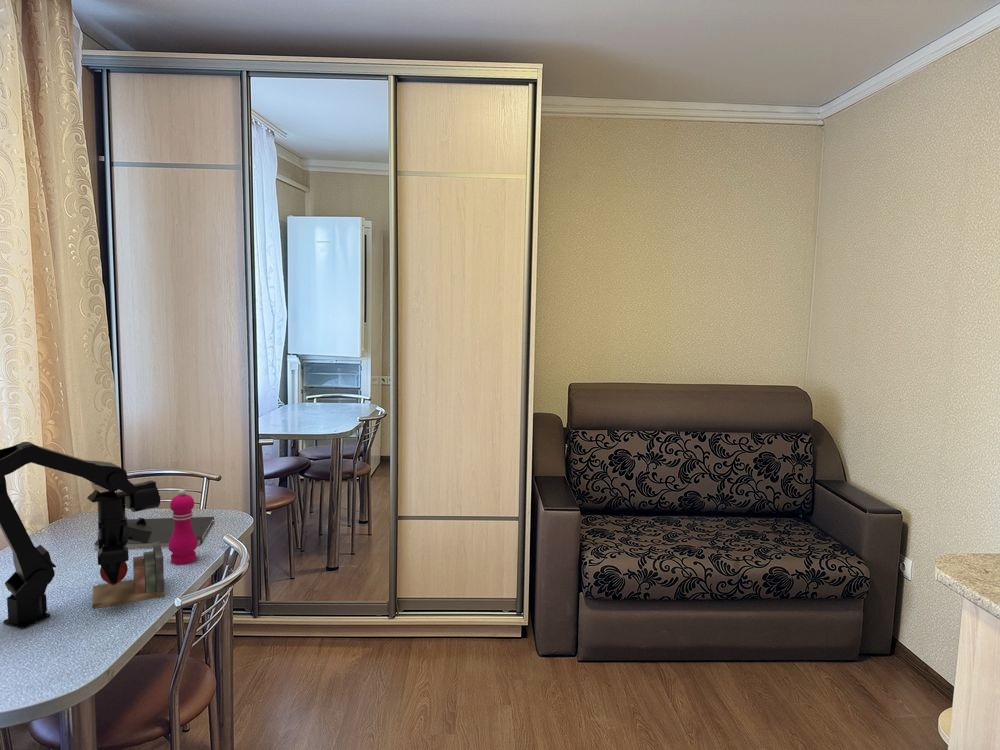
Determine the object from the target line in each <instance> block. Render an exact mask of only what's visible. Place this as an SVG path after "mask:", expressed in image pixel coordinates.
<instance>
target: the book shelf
mask: <svg viewBox="0 0 1000 750" xmlns="http://www.w3.org/2000/svg"><path fill="white" fill-rule="evenodd" d="M132 565H133V568H132V571H133V578H132V579H128V580H121V581H120V582H118V583H117V584H116V585H111V584H109V583H104V584H103V583H102V584H96V585H92V609H97V608H103V607H109V606H115V605H121V604H125V603H126V604H128V603H131V602H139V601H143V600H144V599H145V600H150V599H155V598H156V599H157V598H161V597H160V596H162V597H165V573H164V572H165V569H164V555H163V548H161V544H160V542H153V548H152V551H144V552H142V555H138V556H133V557H132Z"/></svg>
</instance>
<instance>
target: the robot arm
mask: <svg viewBox="0 0 1000 750" xmlns="http://www.w3.org/2000/svg"><path fill="white" fill-rule="evenodd" d="M30 463H31V464H35V465H38V466H42V467H46V468H48V469H52V470H56V471H58V472H59V471H60V472H62V473H66V474H69V475H73V476H76V477H80V478H83V479H84V480H86V481H88V482H90V483H92V484H94V485H96V486H99V487H101V488H103V489H105V490H104V491H99V490H98V489H94V490H93V492H92V493H90V494H89V495H88V496H87V498H86V499H87V500H88V501H89V502H91V503H97V526H98V527H97V529H98V532H97V540H98V542H99V550H97V565H99V566H100V568H101V567H102V568H103V570H104V572H105V573H106V575H107V577H108V579H109V580H110V582H111V584H115V583H117V579H118V574H119V569H120V565H121V563H122V562H127V561H129V557H130V556H129V549H128V547H126V544H127V543H128V539H129V540H132V541H138V542H142V543H144V544H147V543H148V542H149V539H150V536H151V534H152V527H151V526H150V525H146V520H145V519H146V518H145V517H138V518H136V519H137V520H136V521H135V522H132V523H131V522H127V519H128V518H127V516H126V509H128V510H131V512H132V513H137V512H141V511H145V510H151V509H155V508H159V506H161V505H160V504H161V495H160V492H159V489H158V487H157V482H156V481H154V480H147V481H144V482H140V483H132V482H131V481H130V480H129V479H128V473H127V470H126V469H124V468H122V467H121V466H118V465H117V464H115V463H113V462H109V461H108V462H107V461H103V460H102V461H100V460H89V459H82V458H79V457H76V456H73V455H70V454H67V453H63V452H59V451H56V450H53V449H50V448H46V447H44V446H39V445H38V444H37V445H36V444H34V443H33V442H30V441H22V442H20V443H17V444H14V445H11V446H9V447H7V446H6V447H5V448H1V449H0V530H1V533H2V535H4V536H3V537H4V538H5V540H6V541H7V544H8V546H9V547H10V549H11V552H12V558H13V559H12V560H13V565H14V569H15V572H14V573H12V574H11V576H10V577H8V579H7V580H6V581H5V582H4V586H5V587H6V589H7V590H8V592H10V593H11V594H10V596H8V597H7V598H6V603H7V604H6V605H7V618H6V619H4V620H3V624H5V625H10V626H12V627H16V628H19V629H25V628H28V627H29V626H31V625H34V624H37V623H39V622H41V621H43V620H45V619H47V618H50V617H51V613H48V612H47V611H48V606H47V604H48V603H47V601H48V600H47V594H45V593H46V590H47V588H48V585H49V584H51V582H52V581H53V580H54V577H55V575H56V574H55V573H56V572H55V569H54V568H56V567H57V566H56V564H55V563H53V561H52V558H51V555H50V552H49V551H48V550H47V549H46V548H45V547H44V546H43V545H41V544H39V545H37V546H36V547H35V545H34V543H33V541H32V539H31V537H30V535H29V533H28V531H27V529H26V528H25V526H24V523H23V521H22V520H21V517H20V516H19V514H18V511H17V510H16V507H15V506H14V503H13V502H12V500H11V497H10V496H9V493H8V488H7V480H6V477H5V476H8V475H10V474H12V473H14V472H16V471H18V470H19V469H20V468H22V467H24V466H25V465H28V464H30ZM118 490H119V491H118ZM117 491H118V492H117Z"/></svg>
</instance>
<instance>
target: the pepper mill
mask: <svg viewBox="0 0 1000 750" xmlns="http://www.w3.org/2000/svg"><path fill="white" fill-rule="evenodd" d="M194 507H195V500H194V498H193V497H192V496H191V495H189V494H187V493H186V489H182V488H181V489H179V490H178V495H175V496H174V497H173V498H172V499H171V500H170V503H169V508H170V510H171V511H172V515H171V516H172V517H171V518H173V519H174V531H173V533H172V536H171V538H170V541H169V548H168V550H169V552H171V554H170V561H171V562H170V563H172V564H173V563H174V564H173V565H187V564H190V563H193V562H194V561H196V559H197V552H196V551H195V550H196V549H197V548H198V546H197V545H198V543H197V538H196V535H195V533H194V532H193V529H192V526H191V517H194V516H193V514H194V513H193V511H192V510H193V509H194Z"/></svg>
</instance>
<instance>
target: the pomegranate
mask: <svg viewBox="0 0 1000 750" xmlns="http://www.w3.org/2000/svg"><path fill="white" fill-rule="evenodd" d="M128 570H129V569H128V564H127V561H125V562H122V563H121V565H120V569H119V574H118V579H117V583H118V582H121V581H123V580H124V579H125V577H126V576H127V573H128ZM99 574H100V577H101V579H102V581H104V582H105V583H106V584H108V583H109V584H111V582H110V580H109V579H108V577H107V575H106V573H105V572H104V570H103V568H102V567H101V566H100V568H99ZM117 583H115V584H111V585H116V584H117Z"/></svg>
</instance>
